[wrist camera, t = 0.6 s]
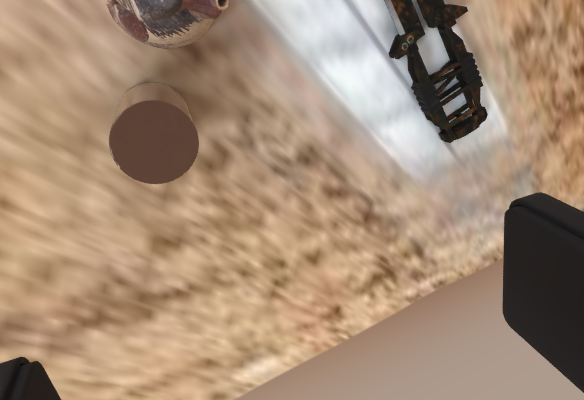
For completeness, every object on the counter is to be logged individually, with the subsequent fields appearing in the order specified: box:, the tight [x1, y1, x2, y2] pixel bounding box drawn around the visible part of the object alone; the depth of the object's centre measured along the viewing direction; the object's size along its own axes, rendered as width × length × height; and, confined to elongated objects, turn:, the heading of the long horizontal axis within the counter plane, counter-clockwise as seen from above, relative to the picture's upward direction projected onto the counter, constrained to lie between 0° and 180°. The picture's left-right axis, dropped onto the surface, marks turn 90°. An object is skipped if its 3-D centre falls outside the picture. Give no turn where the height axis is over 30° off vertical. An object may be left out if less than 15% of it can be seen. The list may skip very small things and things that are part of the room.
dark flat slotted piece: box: [384, 0, 488, 143], centre depth 34 cm, size 25×6×1 cm, turn 26°
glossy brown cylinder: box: [109, 82, 199, 184], centre depth 30 cm, size 5×5×7 cm
